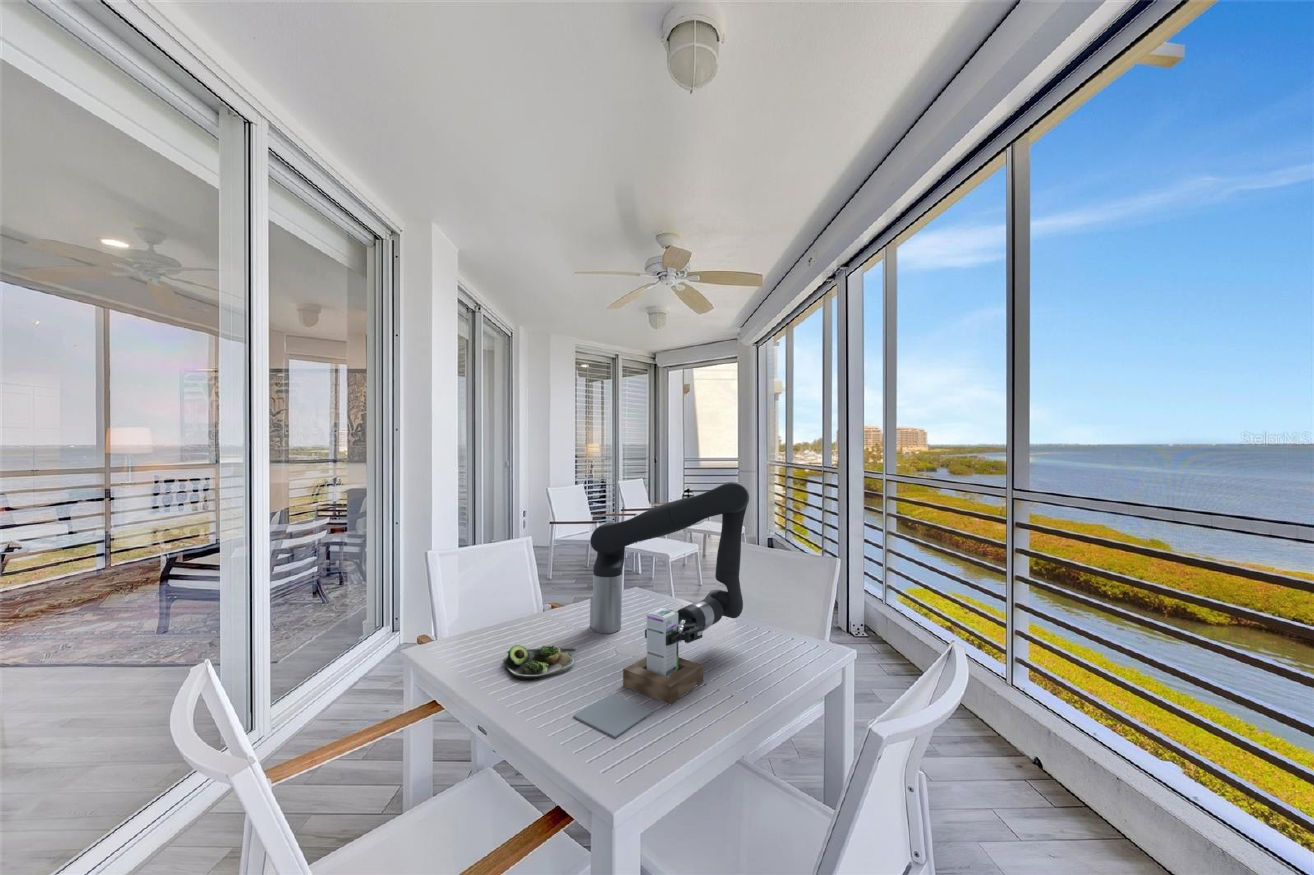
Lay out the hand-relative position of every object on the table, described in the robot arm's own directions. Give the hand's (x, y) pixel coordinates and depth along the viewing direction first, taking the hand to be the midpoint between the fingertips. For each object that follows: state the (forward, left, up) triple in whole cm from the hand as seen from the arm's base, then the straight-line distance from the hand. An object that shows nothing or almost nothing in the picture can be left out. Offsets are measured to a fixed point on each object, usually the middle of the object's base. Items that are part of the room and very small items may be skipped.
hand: (656, 637), depth 115 cm
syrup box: (0, +3, -9) cm, 10 cm away
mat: (0, -16, -12) cm, 19 cm away
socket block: (0, +2, -12) cm, 12 cm away
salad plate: (-32, -11, -12) cm, 35 cm away
